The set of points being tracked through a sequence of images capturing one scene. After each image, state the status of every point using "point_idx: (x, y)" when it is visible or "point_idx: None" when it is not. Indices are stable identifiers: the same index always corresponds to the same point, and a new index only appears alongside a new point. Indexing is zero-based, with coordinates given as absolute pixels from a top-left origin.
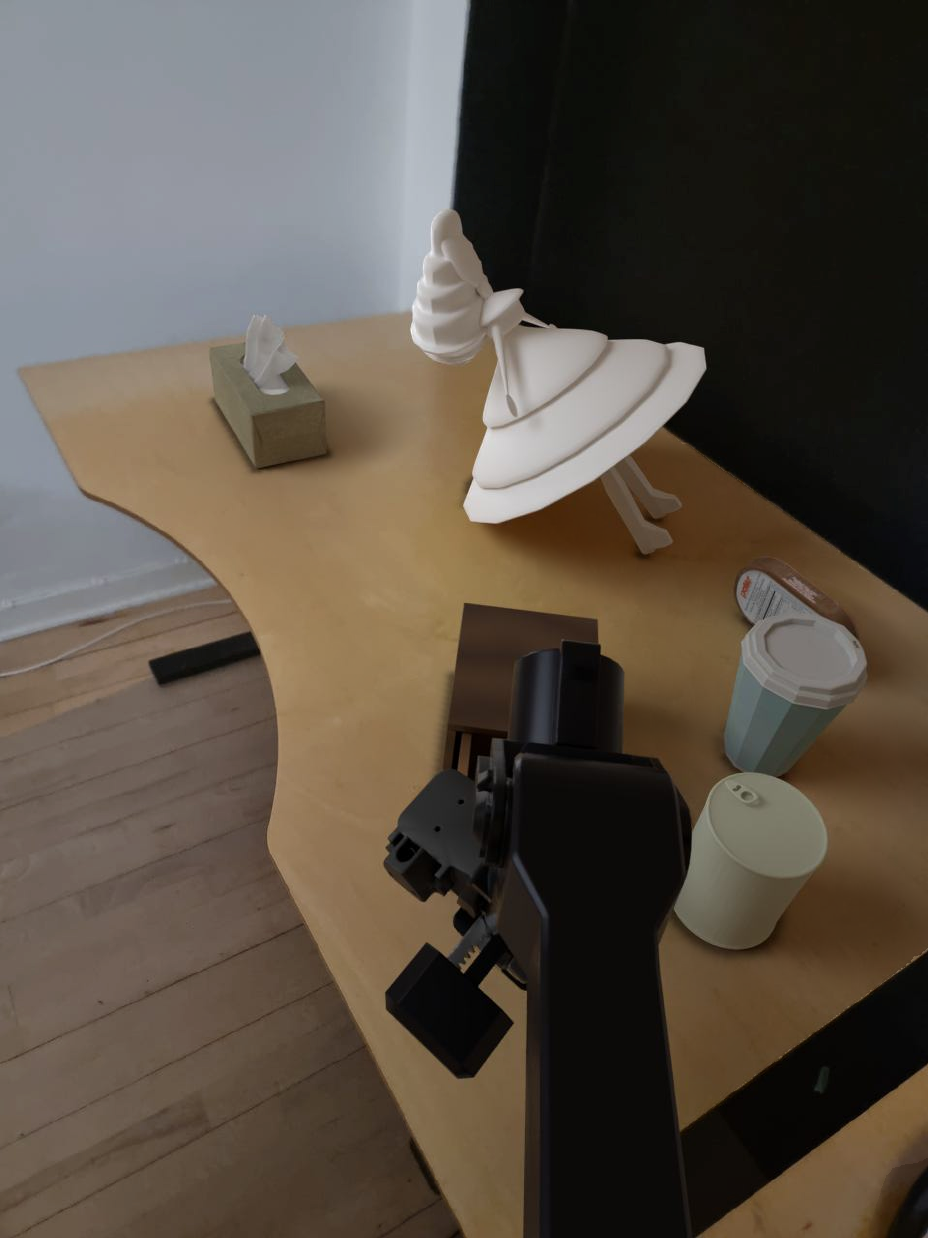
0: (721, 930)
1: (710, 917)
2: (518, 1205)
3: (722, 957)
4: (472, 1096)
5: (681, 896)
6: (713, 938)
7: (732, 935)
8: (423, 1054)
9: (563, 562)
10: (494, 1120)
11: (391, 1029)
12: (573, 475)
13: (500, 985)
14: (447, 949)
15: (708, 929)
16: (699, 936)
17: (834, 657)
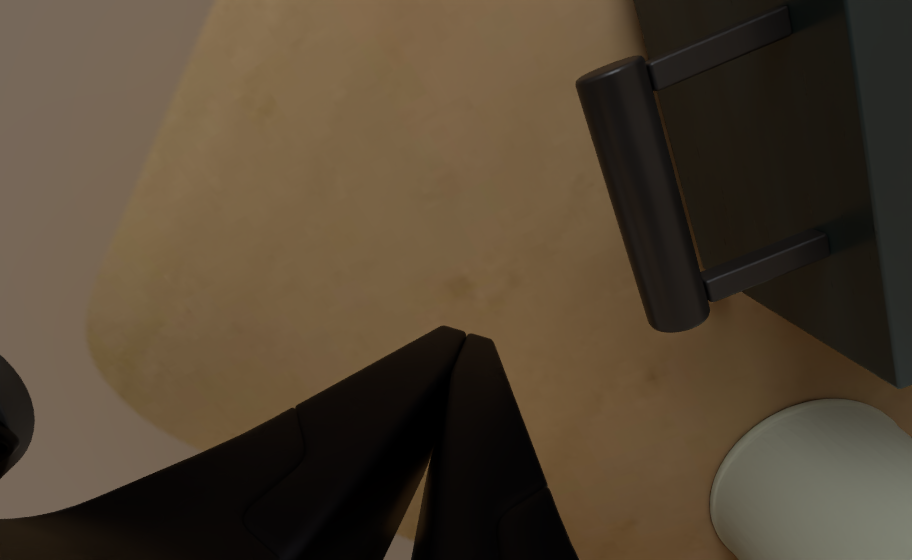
0: (740, 536)
1: (760, 530)
2: (148, 390)
3: (693, 515)
4: (244, 252)
5: (785, 458)
6: (721, 507)
7: (738, 549)
8: (250, 127)
9: None
10: (234, 304)
11: (251, 34)
12: None
13: (462, 204)
14: (477, 60)
15: (734, 507)
16: (716, 481)
17: None
